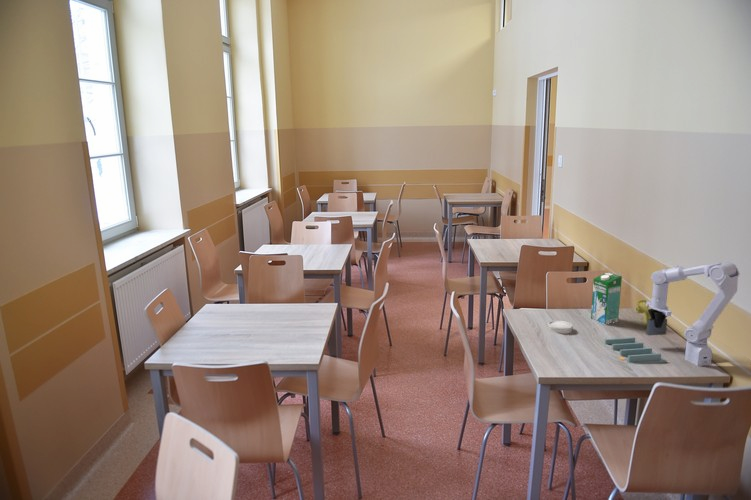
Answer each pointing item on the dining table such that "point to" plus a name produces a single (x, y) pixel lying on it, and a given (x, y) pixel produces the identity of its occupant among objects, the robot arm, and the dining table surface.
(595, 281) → the milk carton
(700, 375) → the dining table surface
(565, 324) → the ramekin
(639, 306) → the plastic component
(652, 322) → the panel
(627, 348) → the slot rack
